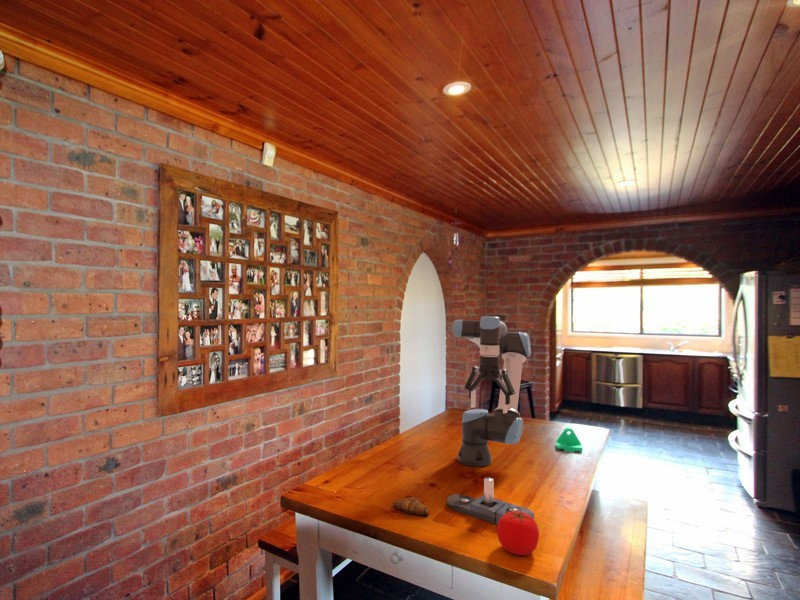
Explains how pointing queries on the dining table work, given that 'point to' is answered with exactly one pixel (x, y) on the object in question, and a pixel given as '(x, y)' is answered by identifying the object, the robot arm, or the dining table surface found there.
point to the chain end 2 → (497, 508)
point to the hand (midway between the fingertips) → (488, 410)
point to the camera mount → (568, 441)
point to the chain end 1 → (466, 507)
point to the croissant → (411, 506)
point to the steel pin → (488, 492)
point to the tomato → (518, 533)
